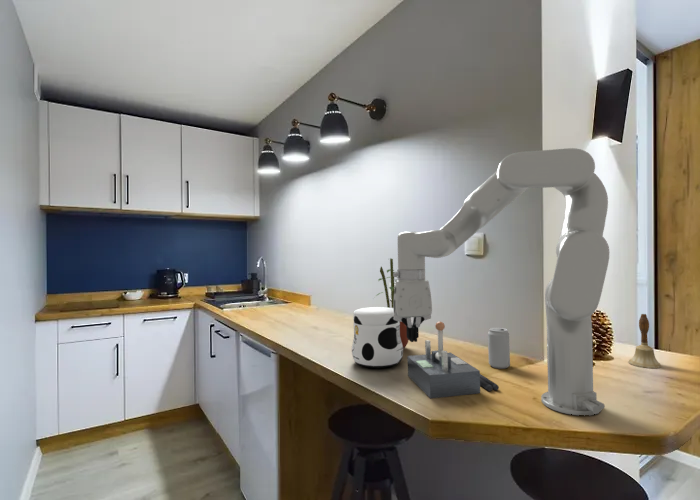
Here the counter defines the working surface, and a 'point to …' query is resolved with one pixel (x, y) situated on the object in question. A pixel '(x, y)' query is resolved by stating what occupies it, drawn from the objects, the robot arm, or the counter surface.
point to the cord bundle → (488, 383)
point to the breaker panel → (443, 374)
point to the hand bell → (644, 348)
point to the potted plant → (402, 326)
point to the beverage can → (498, 348)
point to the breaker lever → (439, 338)
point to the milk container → (376, 338)
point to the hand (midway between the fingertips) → (412, 340)
